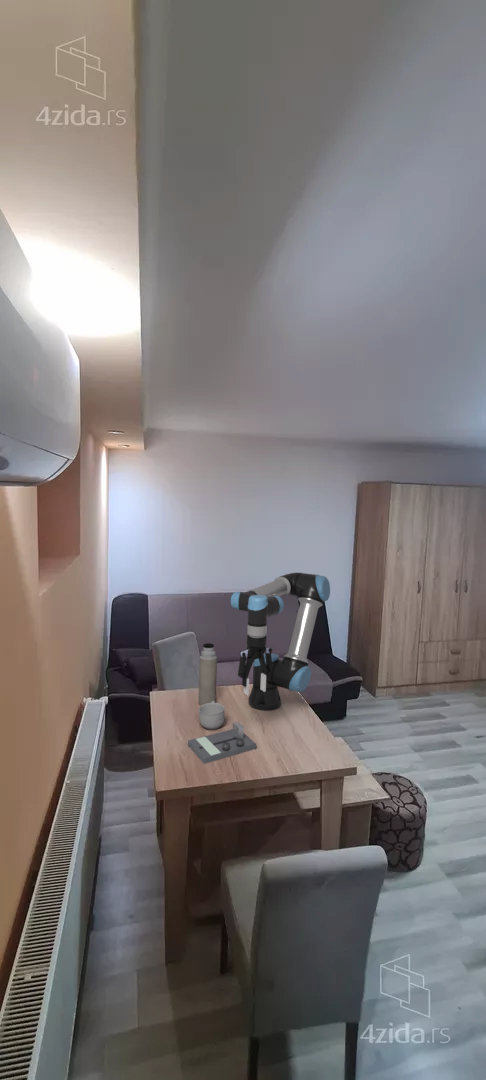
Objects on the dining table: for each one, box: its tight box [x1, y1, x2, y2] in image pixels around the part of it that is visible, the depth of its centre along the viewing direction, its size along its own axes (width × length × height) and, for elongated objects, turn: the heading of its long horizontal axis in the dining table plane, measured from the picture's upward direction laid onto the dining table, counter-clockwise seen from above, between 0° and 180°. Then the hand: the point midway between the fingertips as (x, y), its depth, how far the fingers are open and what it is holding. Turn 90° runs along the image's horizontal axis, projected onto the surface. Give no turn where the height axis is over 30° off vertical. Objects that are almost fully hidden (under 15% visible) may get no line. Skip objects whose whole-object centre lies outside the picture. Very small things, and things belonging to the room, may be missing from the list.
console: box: [187, 728, 257, 765], centre depth 176 cm, size 22×14×4 cm, turn 121°
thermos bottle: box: [198, 642, 218, 707], centre depth 213 cm, size 8×8×28 cm
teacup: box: [198, 701, 226, 731], centre depth 194 cm, size 14×11×8 cm
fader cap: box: [232, 721, 245, 739], centre depth 180 cm, size 2×4×5 cm, turn 31°
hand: (254, 692), depth 182 cm, fingers open, 7 cm apart
